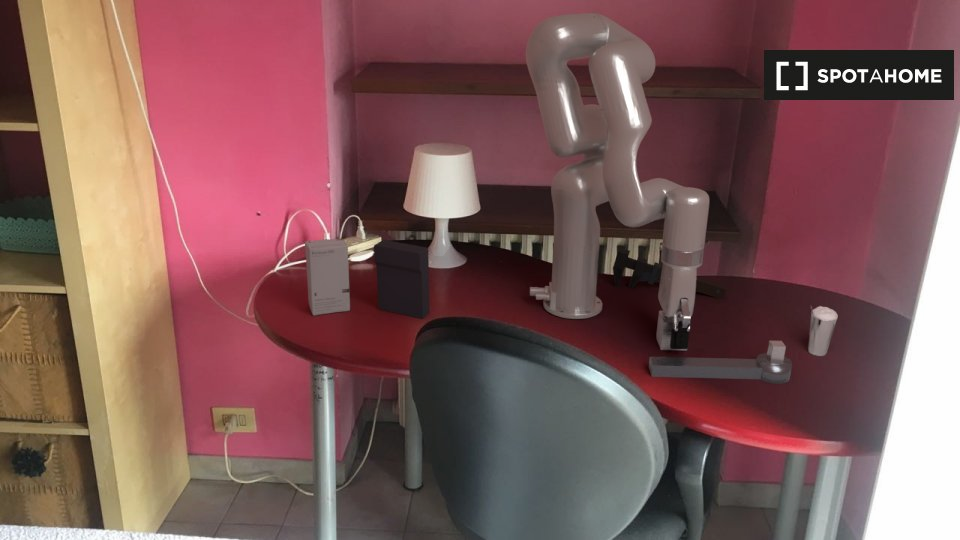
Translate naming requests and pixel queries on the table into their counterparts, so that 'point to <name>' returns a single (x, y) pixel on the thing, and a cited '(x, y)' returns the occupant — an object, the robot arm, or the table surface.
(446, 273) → the table surface
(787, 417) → the table surface
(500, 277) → the table surface
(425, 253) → the black lidded box
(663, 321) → the pale grey cube
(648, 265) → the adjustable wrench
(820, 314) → the milkshake
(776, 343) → the ratchet
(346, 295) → the skincare box
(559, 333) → the table surface
